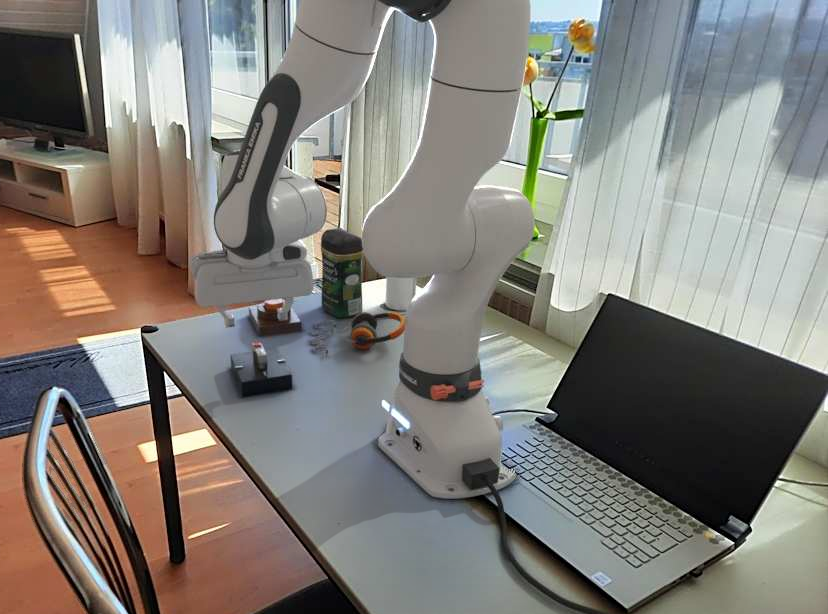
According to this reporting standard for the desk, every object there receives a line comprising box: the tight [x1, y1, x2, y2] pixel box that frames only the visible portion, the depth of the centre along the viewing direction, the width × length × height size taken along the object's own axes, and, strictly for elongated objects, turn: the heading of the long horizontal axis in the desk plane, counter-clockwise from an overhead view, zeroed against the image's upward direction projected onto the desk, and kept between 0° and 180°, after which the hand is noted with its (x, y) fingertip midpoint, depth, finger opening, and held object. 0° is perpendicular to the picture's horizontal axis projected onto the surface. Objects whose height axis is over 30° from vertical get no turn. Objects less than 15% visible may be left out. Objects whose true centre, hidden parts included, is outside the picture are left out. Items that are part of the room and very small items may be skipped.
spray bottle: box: [385, 277, 417, 311], centre depth 147 cm, size 7×7×18 cm
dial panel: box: [230, 347, 293, 398], centre depth 119 cm, size 11×9×3 cm
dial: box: [251, 341, 268, 371], centre depth 117 cm, size 5×2×3 cm, turn 20°
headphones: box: [310, 311, 405, 357], centre depth 133 cm, size 17×5×20 cm
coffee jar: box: [320, 227, 364, 319], centre depth 144 cm, size 10×8×19 cm
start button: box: [263, 298, 284, 311], centre depth 139 cm, size 4×4×2 cm
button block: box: [248, 300, 302, 337], centre depth 140 cm, size 11×9×4 cm
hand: (256, 322), depth 115 cm, fingers open, 8 cm apart
